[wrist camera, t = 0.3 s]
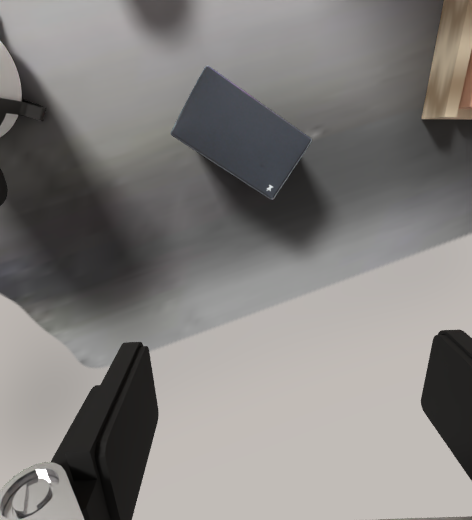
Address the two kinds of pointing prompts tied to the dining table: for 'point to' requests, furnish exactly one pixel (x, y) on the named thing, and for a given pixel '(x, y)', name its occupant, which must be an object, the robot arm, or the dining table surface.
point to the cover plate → (467, 88)
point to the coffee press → (12, 103)
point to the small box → (240, 133)
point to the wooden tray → (450, 62)
